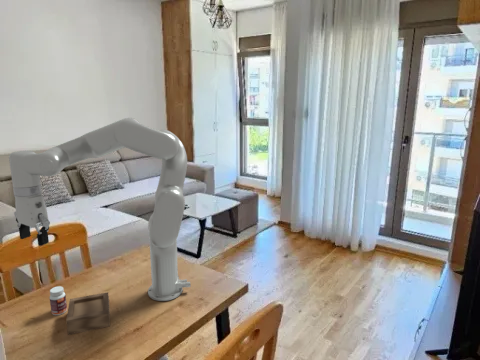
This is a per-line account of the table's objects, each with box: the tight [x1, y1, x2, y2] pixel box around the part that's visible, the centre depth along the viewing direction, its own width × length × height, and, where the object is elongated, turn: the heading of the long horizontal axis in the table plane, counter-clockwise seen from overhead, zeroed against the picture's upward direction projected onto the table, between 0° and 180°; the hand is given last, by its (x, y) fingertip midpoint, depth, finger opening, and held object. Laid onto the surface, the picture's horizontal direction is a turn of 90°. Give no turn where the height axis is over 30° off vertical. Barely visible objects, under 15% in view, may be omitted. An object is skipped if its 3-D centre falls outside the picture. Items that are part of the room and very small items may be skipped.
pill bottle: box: [49, 285, 68, 316], centre depth 116 cm, size 5×5×8 cm
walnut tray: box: [65, 291, 111, 336], centre depth 113 cm, size 12×12×5 cm
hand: (34, 240), depth 113 cm, fingers open, 9 cm apart
